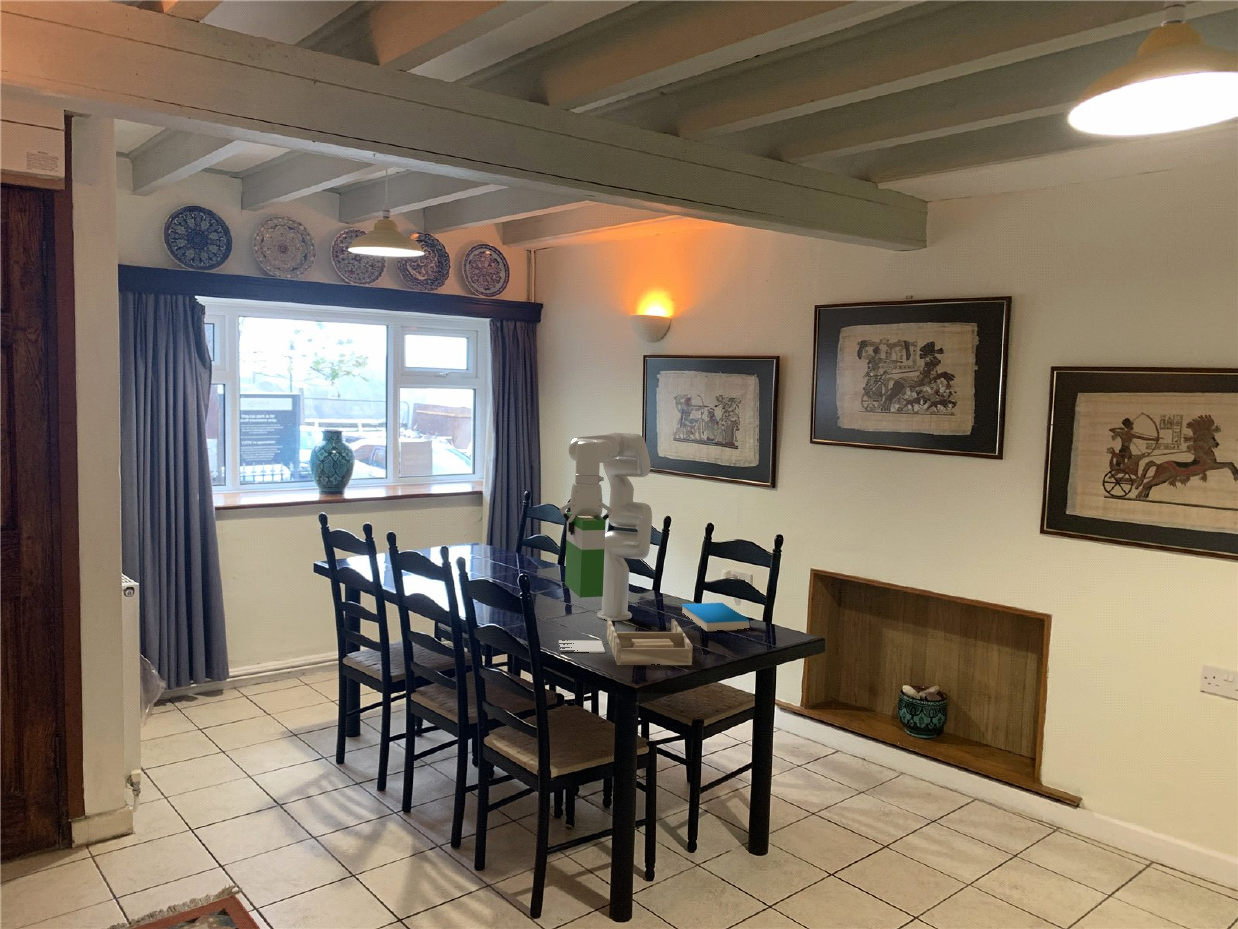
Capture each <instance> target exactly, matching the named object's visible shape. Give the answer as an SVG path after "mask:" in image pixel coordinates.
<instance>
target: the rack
mask: <svg viewBox="0 0 1238 929" xmlns="http://www.w3.org/2000/svg"><path fill="white" fill-rule="evenodd" d="M670 625H671V626H670V631H617V632H616V629H615V627H614V624H613V621H611V619H607V620H606V638H607V641H608V645H609V646H610V649H611V651H612V656H613V658H614V657H615V658H614V660H615V663H616V665H617V666H652V665H651V664H655V665H654V666H658V665H657V664H660V665H659V666H692V665H693V664H692V663H693V647H694V646H693V643H691V641H690V640H689V638H688V637H687V635H686V634H685V633H684V631H683V629H682V628H681V626H680V625H679V623H678V622H677V620H676V619H675V618H671V624H670ZM632 639H670V640H671V642H672V643H673V644H674V648H631V645H632Z"/></svg>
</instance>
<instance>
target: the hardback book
mask: <svg viewBox="0 0 1238 929" xmlns="http://www.w3.org/2000/svg"><path fill="white" fill-rule="evenodd" d="M566 514H567V515H568V516H570V515H571V512H570V511H567V513H566ZM606 521H607V520H604V519H602V518H600V517H597V516H575V518H574V519H573V535H570V532H568V521H567V520H566V538H565V539H566V542H565V547H566V548H565V571H564V575H565V576H564V585H565V586H566V587H567V588H568V589H569V590H571V591H572V592H573V593H574V594H575V595H576V596H578V597H579V598H580V599H581V598H597V597H599V598H600V597H601V598H602V597H603V580H604V553H605V533H606V526H607V525H606V524H607V523H606Z"/></svg>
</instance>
